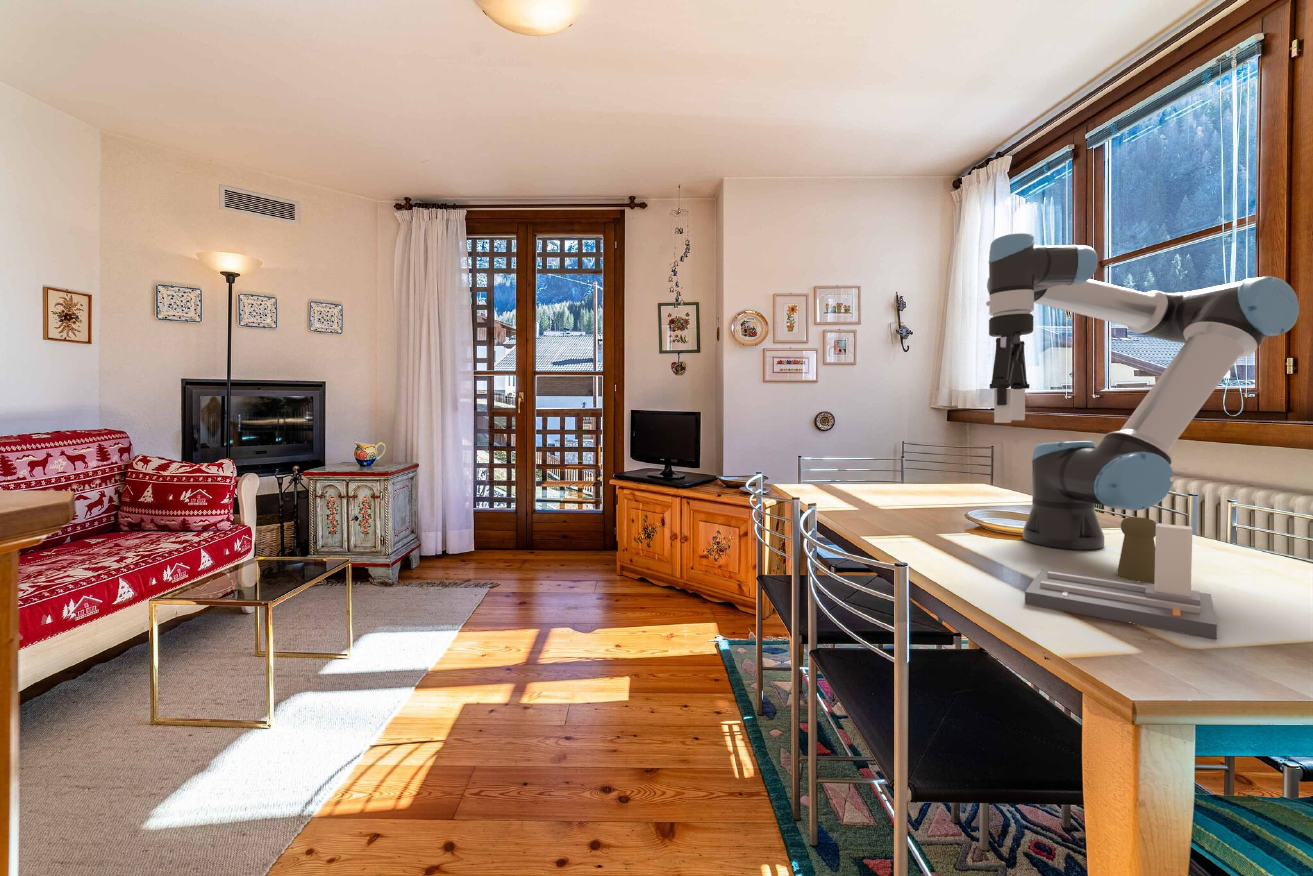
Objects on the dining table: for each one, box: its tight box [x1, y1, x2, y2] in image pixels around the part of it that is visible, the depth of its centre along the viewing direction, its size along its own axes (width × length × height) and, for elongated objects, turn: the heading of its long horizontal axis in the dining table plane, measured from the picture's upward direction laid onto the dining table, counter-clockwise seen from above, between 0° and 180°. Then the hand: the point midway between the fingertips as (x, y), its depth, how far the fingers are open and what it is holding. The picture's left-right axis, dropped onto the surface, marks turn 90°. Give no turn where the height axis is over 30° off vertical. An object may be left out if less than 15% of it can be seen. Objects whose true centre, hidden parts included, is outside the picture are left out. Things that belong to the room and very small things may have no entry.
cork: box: [1116, 516, 1157, 584], centre depth 102 cm, size 6×6×11 cm
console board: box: [1024, 568, 1218, 640], centre depth 89 cm, size 16×22×3 cm
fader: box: [1145, 522, 1200, 606], centre depth 84 cm, size 5×6×11 cm
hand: (1010, 421), depth 113 cm, fingers open, 13 cm apart
